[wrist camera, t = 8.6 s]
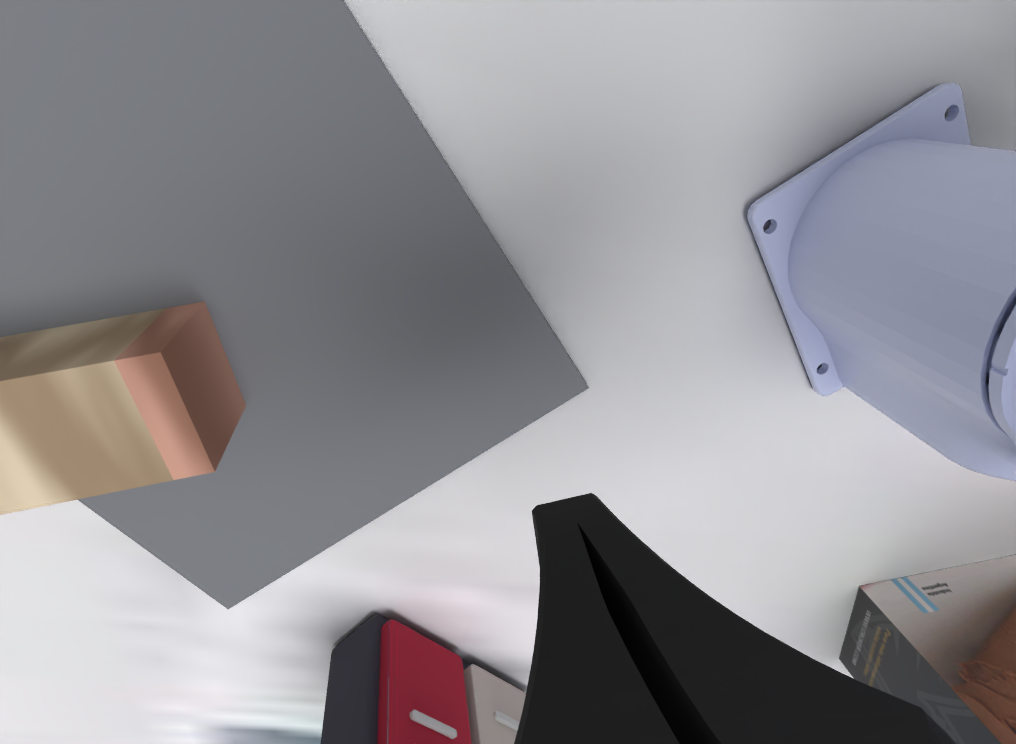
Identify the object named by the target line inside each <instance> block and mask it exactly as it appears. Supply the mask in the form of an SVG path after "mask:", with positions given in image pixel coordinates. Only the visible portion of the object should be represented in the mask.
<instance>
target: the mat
mask: <svg viewBox="0 0 1016 744" xmlns="http://www.w3.org/2000/svg"><path fill="white" fill-rule="evenodd" d="M204 301H205V303H206V306H207V308H208V311H209V313H210V316H211V318H212V321H213V323H214V326H215V328H216V331H217V333H218V336H219V338H220V341H221V343H222V346H223V348H224V351H225V354H226V356H227V359H228V361H229V364H230V366H231V369H232V371H233V374H234V376H235V379H236V381H237V384H238V386H239V389H240V391H241V394H242V396H243V399H244V401H245V404H246V407H245V409H244V411H243V413H242V415H241V418H240V420H239V422H238V424H237V426H236V428H235V430H234V432H233V435H232V437H231V439H230V441H229V443H228V445H227V447H226V450H225V452H224V454H223V456H222V458H221V460H220V462H219V464H218V467H217V469H216V471H215V472H212V473H207V474H202V475H197V476H192V477H187V478H182V479H177V480H172V481H167V482H162V483H157V484H152V485H147V486H142V487H137V488H132V489H127V490H122V491H117V492H112V493H107V494H102V495H97V496H92V497H87V498H82V499H77V500H79V501H80V502H81V503H83V504H84V505H86V506H87V507H88V508H90V509H91V510H92V511H94V512H95V513H97V514H98V515H99V516H101V517H102V518H103V519H105V520H106V521H108V522H109V523H110V524H112V525H113V526H114V527H116V528H117V529H118V530H120V531H121V532H123V533H124V534H125V535H127V536H128V537H129V538H131V539H132V540H134V541H135V542H136V543H138V544H139V545H140V546H142V547H143V548H145V549H146V550H147V551H149V552H150V553H151V554H153V555H154V556H156V557H157V558H158V559H160V560H161V561H162V562H164V563H165V564H167V565H168V566H169V567H171V568H172V569H173V570H175V571H176V572H178V573H179V574H180V575H182V576H183V577H184V578H186V579H187V580H189V581H190V582H191V583H193V584H194V585H195V586H197V587H198V588H200V589H201V590H202V591H204V592H205V593H206V594H208V595H209V596H211V597H212V598H213V599H215V600H216V601H217V602H219V603H220V604H221V605H223V606H224V607H226V608H227V609H229V608H231V607H233V606H234V605H236V604H238V603H239V602H241V601H242V600H244V599H246V598H247V597H249V596H251V595H252V594H254V593H255V592H257V591H259V590H260V589H262V588H264V587H265V586H267V585H269V584H270V583H272V582H273V581H275V580H277V579H278V578H280V577H282V576H283V575H285V574H286V573H288V572H290V571H291V570H293V569H295V568H296V567H298V566H299V565H301V564H303V563H304V562H306V561H308V560H309V559H311V558H312V557H314V556H316V555H317V554H319V553H321V552H322V551H324V550H326V549H327V548H329V547H330V546H332V545H334V544H335V543H337V542H339V541H340V540H342V539H343V538H345V537H347V536H348V535H350V534H352V533H353V532H355V531H356V530H358V529H360V528H361V527H363V526H365V525H366V524H368V523H369V522H371V521H373V520H374V519H376V518H378V517H379V516H381V515H383V514H384V513H386V512H387V511H389V510H391V509H392V508H394V507H396V506H397V505H399V504H400V503H402V502H404V501H405V500H407V499H409V498H410V497H412V496H413V495H415V494H417V493H418V492H420V491H422V490H423V489H425V488H427V487H428V486H430V485H431V484H433V483H435V482H436V481H438V480H440V479H441V478H443V477H444V476H446V475H448V474H449V473H451V472H453V471H454V470H456V469H457V468H459V467H461V466H462V465H464V464H466V463H467V462H469V461H470V460H472V459H474V458H475V457H477V456H479V455H480V454H482V453H484V452H485V451H487V450H488V449H490V448H492V447H493V446H495V445H497V444H498V443H500V442H501V441H503V440H505V439H506V438H508V437H510V436H511V435H513V434H514V433H516V432H518V431H519V430H521V429H523V428H524V427H526V426H527V425H529V424H531V423H532V422H534V421H536V420H537V419H539V418H541V417H542V416H544V415H545V414H547V413H549V412H550V411H552V410H554V409H555V408H557V407H558V406H560V405H562V404H563V403H565V402H567V401H568V400H570V399H571V398H573V397H575V396H576V395H578V394H580V393H581V392H583V391H584V390H586V389H588V388H589V387H588V385H587V384H586V382H585V381H584V379H583V377H582V376H581V374H580V373H579V371H578V370H577V368H576V366H575V365H574V363H573V362H572V360H571V359H570V357H569V355H568V354H567V352H566V351H565V349H564V348H563V346H562V344H561V343H560V341H559V340H558V338H557V336H556V335H555V333H554V332H553V330H552V329H551V327H550V325H549V324H548V322H547V321H546V319H545V318H544V316H543V314H542V313H541V311H540V310H539V308H538V307H537V305H536V303H535V302H534V300H533V299H532V297H531V296H530V294H529V292H528V291H527V289H526V288H525V286H524V285H523V283H522V281H521V280H520V278H519V277H518V275H517V274H516V272H515V270H514V269H513V267H512V266H511V264H510V262H509V261H508V259H507V258H506V256H505V255H504V253H503V251H502V250H501V248H500V247H499V245H498V244H497V242H496V240H495V239H494V237H493V236H492V234H491V233H490V231H489V229H488V228H487V226H486V225H485V223H484V222H483V220H482V218H481V217H480V215H479V214H478V212H477V211H476V209H475V207H474V206H473V204H472V203H471V201H470V200H469V198H468V196H467V195H466V193H465V192H464V190H463V188H462V187H461V185H460V184H459V182H458V181H457V179H456V177H455V176H454V174H453V173H452V171H451V170H450V168H449V166H448V165H447V163H446V162H445V160H444V159H443V157H442V155H441V154H440V152H439V151H438V149H437V148H436V146H435V144H434V143H433V141H432V140H431V138H430V137H429V135H428V133H427V132H426V130H425V129H424V127H423V125H422V124H421V122H420V121H419V119H418V118H417V116H416V114H415V113H414V111H413V110H412V108H411V107H410V105H409V103H408V102H407V100H406V99H405V97H404V96H403V94H402V92H401V91H400V89H399V88H398V86H397V85H396V83H395V81H394V80H393V78H392V77H391V75H390V74H389V72H388V70H387V69H386V67H385V66H384V64H383V63H382V61H381V59H380V58H379V56H378V55H377V53H376V51H375V50H374V48H373V47H372V45H371V44H370V42H369V40H368V39H367V37H366V36H365V34H364V33H363V31H362V29H361V28H360V26H359V25H358V23H357V22H356V20H355V18H354V17H353V15H352V14H351V12H350V11H349V9H348V7H347V6H346V4H345V3H344V1H343V0H0V337H4V336H10V335H16V334H21V333H27V332H33V331H38V330H44V329H50V328H56V327H61V326H67V325H73V324H79V323H84V322H90V321H96V320H101V319H107V318H113V317H119V316H124V315H130V314H136V313H141V312H147V311H153V310H159V309H164V308H170V307H176V306H181V305H187V304H193V303H199V302H204Z"/></svg>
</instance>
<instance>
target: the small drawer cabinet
mask: <svg viewBox="0 0 1016 744" xmlns="http://www.w3.org/2000/svg"><path fill="white" fill-rule="evenodd" d="M525 696H526V693H525V692H523V691H521V690H520V689H518V688H516V687H514V686H512V685H511V684H509V683H507V682H505V681H503V680H502V679H500V678H498V677H496V676H494V675H493V674H491V673H489V672H487V671H485V670H484V669H482V668H480V667H478V666H477V665H474V664H472V665H469V664H467V663H465V662H463V661H462V659H461V658H460V657H459V656H458V655H457V654H455V653H453V652H451V651H450V650H448V649H446V648H444V647H443V646H441V645H439V644H437V643H435V642H434V641H432V640H430V639H428V638H426V637H425V636H423V635H421V634H419V633H417V632H416V631H414V630H412V629H410V628H409V627H407V626H405V625H403V624H401V623H400V622H398V621H396V620H393V619H390V620H388V619H386V618H384V617H382V616H380V615H373V616H372V617H370V618H369V619H368V620H367V621H366V622H364V623H363V624H362V625H361V626H360V627H359V628H357V629H356V630H355V631H354V632H353V633H352V634H350V635H349V636H348V637H347V638H346V639H345V640H343V641H342V642H341V643H340V644H339V645H338V646H337V647H336V648H334V649H333V651H332V655H331V662H330V670H329V679H328V687H327V696H326V704H325V712H324V721H323V729H322V737H321V744H514V742H515V738H516V734H517V730H518V727H519V723H520V719H521V715H522V710H523V706H524V701H525Z"/></svg>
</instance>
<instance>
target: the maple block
mask: <svg viewBox="0 0 1016 744" xmlns="http://www.w3.org/2000/svg"><path fill="white" fill-rule="evenodd" d="M245 407H246V404H245V401H244V399H243V396H242V394H241V391H240V389H239V386H238V384H237V381H236V379H235V376H234V374H233V371H232V369H231V366H230V364H229V361H228V359H227V356H226V354H225V351H224V348H223V346H222V343H221V341H220V338H219V336H218V333H217V331H216V328H215V326H214V323H213V321H212V318H211V316H210V313H209V311H208V308H207V306H206V303H205V301H204V302H199V303H193V304H187V305H181V306H176V307H170V308H164V309H159V310H153V311H147V312H141V313H136V314H130V315H124V316H119V317H113V318H107V319H101V320H96V321H90V322H84V323H79V324H73V325H67V326H61V327H56V328H50V329H44V330H38V331H33V332H27V333H21V334H16V335H10V336H4V337H0V515H2V514H7V513H12V512H17V511H22V510H27V509H32V508H37V507H42V506H47V505H52V504H57V503H62V502H67V501H72V500H77V499H82V498H87V497H92V496H97V495H102V494H107V493H112V492H117V491H122V490H127V489H132V488H137V487H142V486H147V485H152V484H157V483H162V482H167V481H172V480H177V479H182V478H187V477H192V476H197V475H202V474H207V473H212V472H215V471H216V469H217V467H218V464H219V462H220V460H221V458H222V456H223V454H224V452H225V450H226V447H227V445H228V443H229V441H230V439H231V437H232V435H233V432H234V430H235V428H236V426H237V424H238V422H239V420H240V418H241V415H242V413H243V411H244V409H245Z"/></svg>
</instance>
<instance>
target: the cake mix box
mask: <svg viewBox="0 0 1016 744" xmlns="http://www.w3.org/2000/svg"><path fill="white" fill-rule="evenodd" d="M839 659H840V661H841V662H842V663H843V665H844V666H845V667H846V669H847V670H848V671H849V672H850V674H851V675H852V676H853V678H854V679H855V680H857V681H860V682H862V683H864V684H867V685H869V686H871V687H874V688H876V689H878V690H881V691H883V692H886V693H888V694H890V695H893V696H895V697H897V698H900V699H902V700H904V701H907V702H909V703H911V704H914V705H916V706H918V707H921V708H923V709H924V711H925V712H926V713H927V714H928V715H929V716H930V717H931V718H932V719H933V720H934V721H935V722H936V723H937V724H938V725H939V726H940V727H941V728H942V729H943V730H944V731H946V732H947V734H948V735H949V736H950V737H951V738H952V739H953V740H954V741H955V742H956V743H957V744H1016V554H1015V555H1010V556H1005V557H1000V558H995V559H991V560H986V561H981V562H976V563H971V564H966V565H961V566H956V567H951V568H946V569H941V570H936V571H931V572H926V573H921V574H916V575H911V576H906V577H901V578H896V579H891V580H886V581H882V582H877V583H872V584H867V585H862V586H859V588H858V592H857V595H856V599H855V603H854V606H853V610H852V614H851V617H850V621H849V624H848V628H847V632H846V635H845V639H844V642H843V646H842V650H841V653H840V657H839Z"/></svg>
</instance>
